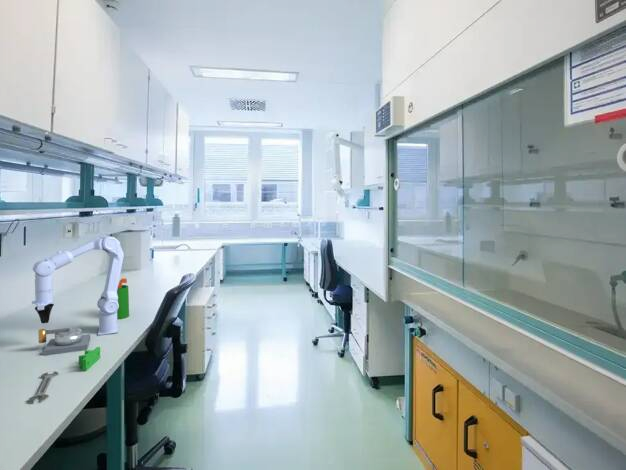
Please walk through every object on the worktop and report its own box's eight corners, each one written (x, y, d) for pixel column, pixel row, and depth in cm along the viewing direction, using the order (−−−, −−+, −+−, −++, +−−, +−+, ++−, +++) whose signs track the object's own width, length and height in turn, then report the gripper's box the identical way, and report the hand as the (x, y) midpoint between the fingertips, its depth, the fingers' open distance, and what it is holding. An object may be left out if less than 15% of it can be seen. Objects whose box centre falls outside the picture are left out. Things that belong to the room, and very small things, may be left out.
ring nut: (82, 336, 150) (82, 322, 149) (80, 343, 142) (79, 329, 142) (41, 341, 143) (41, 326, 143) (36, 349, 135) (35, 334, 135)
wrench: (47, 402, 104) (59, 373, 122) (46, 396, 104) (59, 369, 122) (26, 407, 102) (42, 377, 120) (26, 402, 102) (41, 373, 120)
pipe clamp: (89, 359, 134) (89, 347, 134) (100, 358, 134) (100, 346, 134) (74, 372, 123) (74, 359, 123) (86, 371, 123) (85, 359, 123)
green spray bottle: (110, 314, 187) (109, 277, 185) (129, 312, 191) (128, 276, 189) (109, 320, 178) (108, 281, 176) (129, 318, 182) (128, 279, 181)
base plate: (50, 343, 147) (50, 339, 146) (90, 338, 153) (90, 334, 153) (44, 355, 135) (43, 350, 135) (87, 349, 142) (87, 344, 141)
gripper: (35, 287, 148) (36, 318, 149) (27, 295, 135) (28, 329, 136) (56, 285, 151) (57, 316, 152) (49, 293, 138) (50, 327, 139)
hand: (45, 322), depth 144 cm, fingers closed
